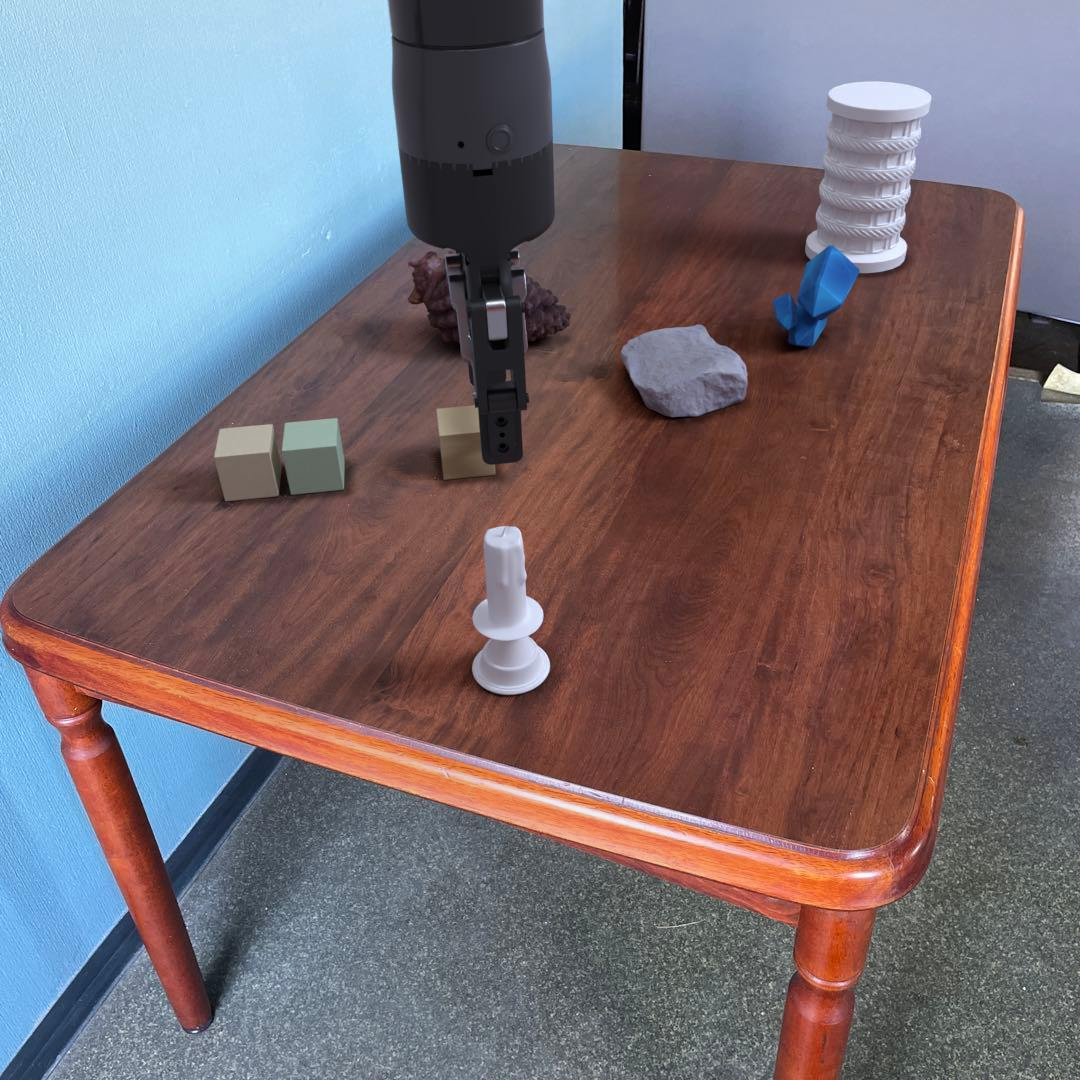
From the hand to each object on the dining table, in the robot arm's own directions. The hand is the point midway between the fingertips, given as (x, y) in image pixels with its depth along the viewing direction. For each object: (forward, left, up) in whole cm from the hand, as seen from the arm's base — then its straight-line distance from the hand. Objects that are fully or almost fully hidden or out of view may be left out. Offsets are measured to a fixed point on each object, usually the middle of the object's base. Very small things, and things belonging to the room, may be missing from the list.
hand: (494, 419), depth 62 cm
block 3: (-1, +26, -20) cm, 33 cm away
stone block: (+20, +36, -20) cm, 46 cm away
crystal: (+36, +44, -20) cm, 60 cm away
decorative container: (+48, +63, -20) cm, 82 cm away
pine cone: (+3, +49, -20) cm, 53 cm away
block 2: (-14, +26, -20) cm, 36 cm away
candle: (0, 0, -20) cm, 20 cm away
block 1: (-20, +26, -20) cm, 38 cm away
